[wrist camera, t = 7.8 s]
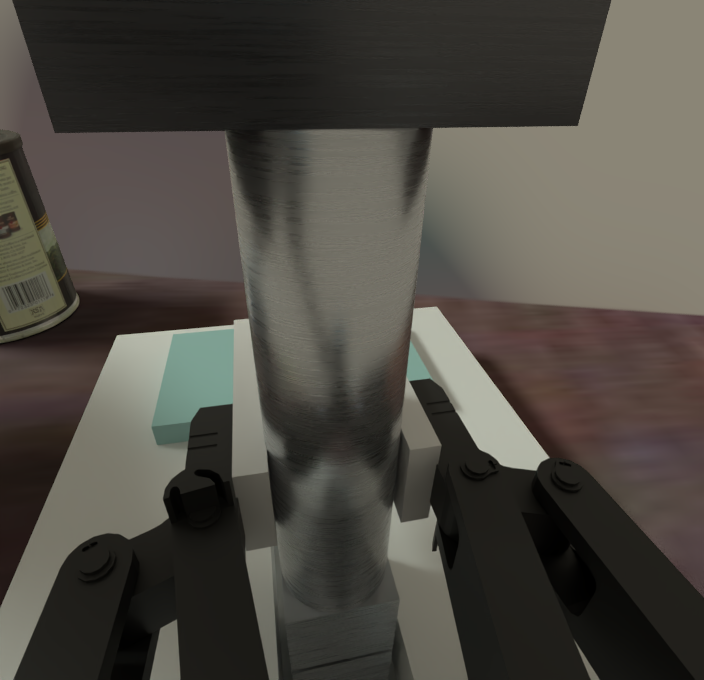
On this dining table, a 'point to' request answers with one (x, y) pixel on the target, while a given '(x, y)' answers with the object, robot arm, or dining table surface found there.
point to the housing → (262, 564)
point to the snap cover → (209, 380)
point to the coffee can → (28, 252)
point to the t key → (322, 224)
